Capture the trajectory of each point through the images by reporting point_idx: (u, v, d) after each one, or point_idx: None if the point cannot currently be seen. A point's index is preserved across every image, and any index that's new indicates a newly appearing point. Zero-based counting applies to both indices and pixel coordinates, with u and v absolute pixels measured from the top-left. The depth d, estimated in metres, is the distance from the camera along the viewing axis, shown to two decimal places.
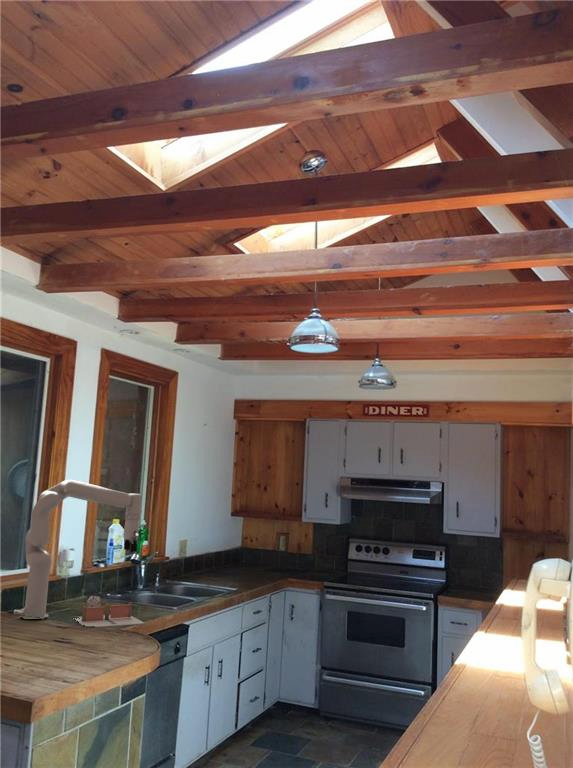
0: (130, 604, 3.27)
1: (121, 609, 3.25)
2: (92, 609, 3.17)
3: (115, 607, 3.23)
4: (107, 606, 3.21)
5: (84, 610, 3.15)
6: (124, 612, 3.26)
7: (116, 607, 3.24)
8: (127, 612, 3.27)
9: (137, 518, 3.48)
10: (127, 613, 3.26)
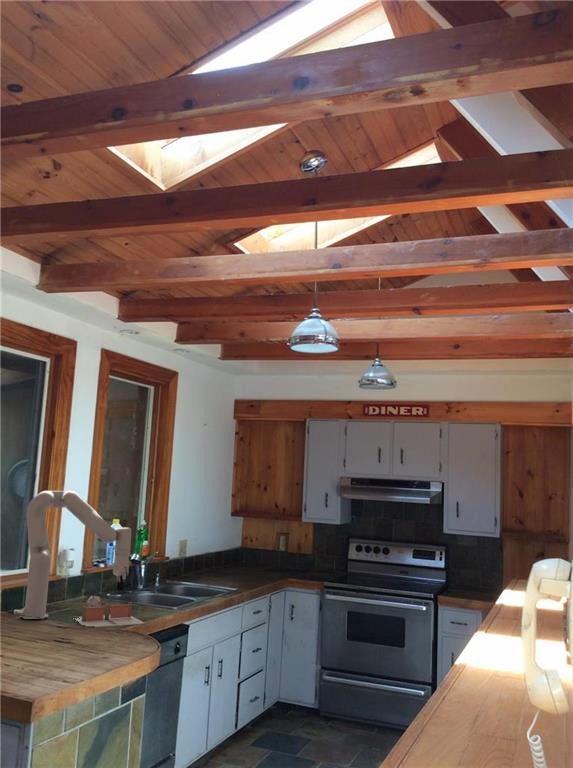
0: (130, 604, 3.27)
1: (121, 609, 3.25)
2: (92, 609, 3.17)
3: (115, 607, 3.23)
4: (107, 606, 3.21)
5: (84, 610, 3.15)
6: (124, 612, 3.26)
7: (116, 607, 3.24)
8: (127, 612, 3.27)
9: (127, 553, 3.33)
10: (127, 613, 3.26)
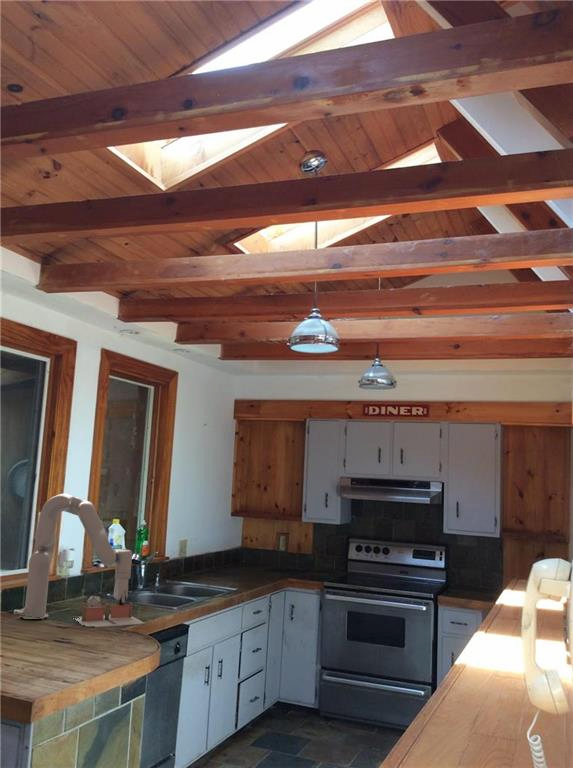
0: (130, 604, 3.27)
1: (121, 609, 3.25)
2: (92, 609, 3.17)
3: (115, 607, 3.23)
4: (107, 606, 3.21)
5: (84, 610, 3.15)
6: (125, 613, 3.25)
7: (116, 607, 3.23)
8: (127, 612, 3.26)
9: (127, 577, 3.28)
10: (127, 613, 3.26)
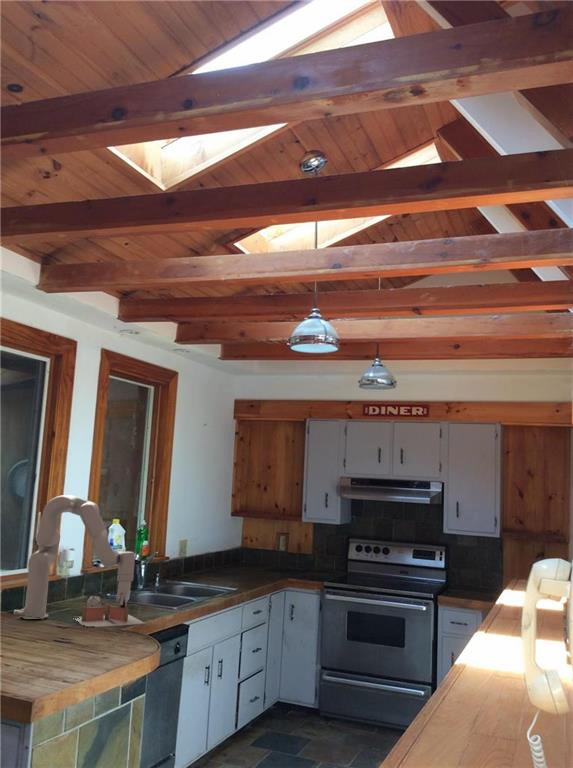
0: (125, 608, 3.17)
1: (118, 611, 3.18)
2: (92, 609, 3.17)
3: (113, 608, 3.20)
4: (107, 606, 3.21)
5: (84, 610, 3.15)
6: (120, 616, 3.17)
7: (113, 608, 3.20)
8: (123, 616, 3.17)
9: (126, 579, 3.21)
10: (123, 617, 3.17)
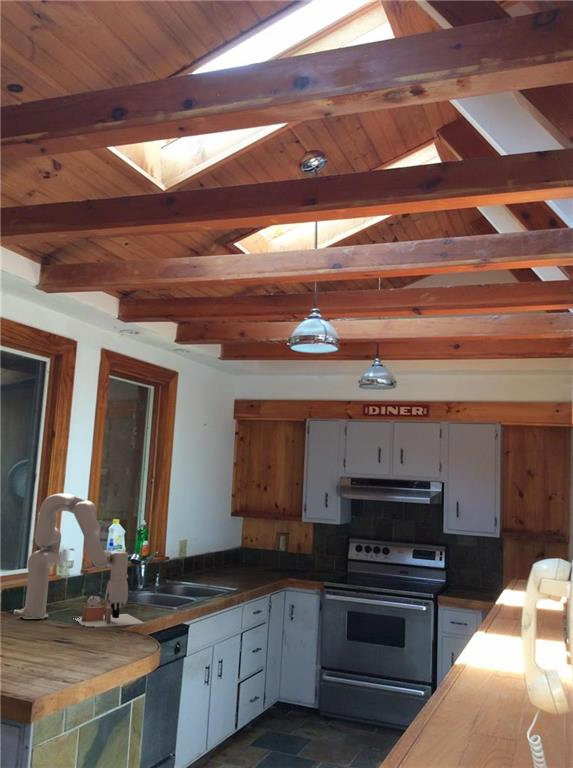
0: (107, 609, 3.11)
1: None
2: (92, 609, 3.17)
3: None
4: None
5: (84, 610, 3.15)
6: None
7: None
8: None
9: (113, 579, 3.16)
10: None
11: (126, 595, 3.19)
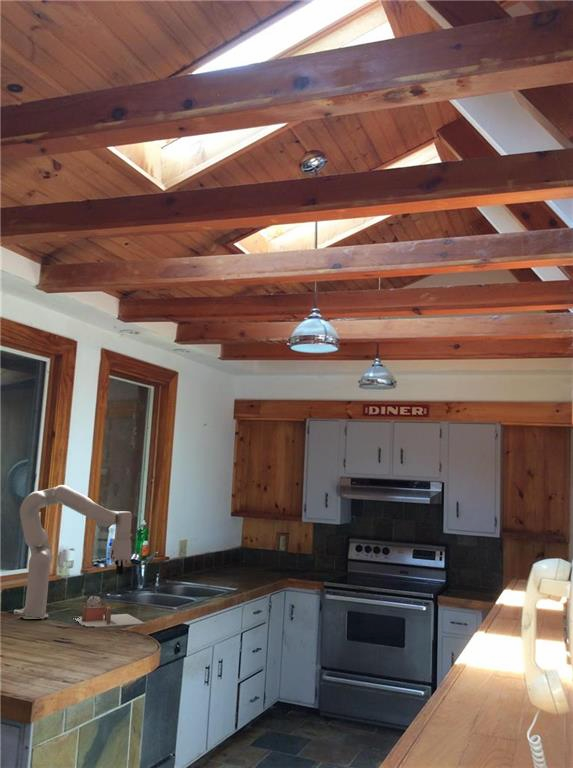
0: (107, 609, 3.11)
1: None
2: (92, 609, 3.17)
3: None
4: None
5: (84, 610, 3.15)
6: None
7: None
8: None
9: (118, 537, 3.29)
10: None
11: (130, 553, 3.33)
